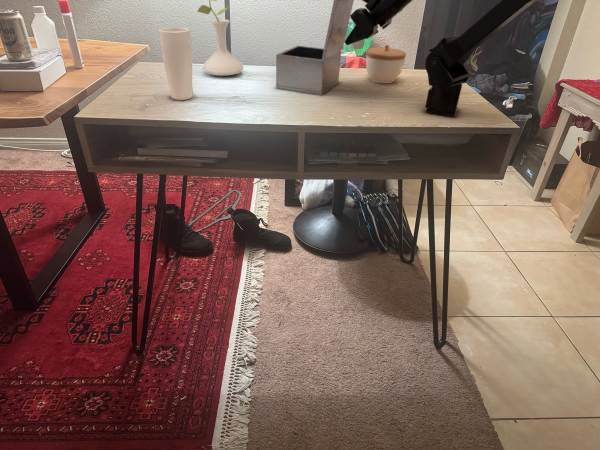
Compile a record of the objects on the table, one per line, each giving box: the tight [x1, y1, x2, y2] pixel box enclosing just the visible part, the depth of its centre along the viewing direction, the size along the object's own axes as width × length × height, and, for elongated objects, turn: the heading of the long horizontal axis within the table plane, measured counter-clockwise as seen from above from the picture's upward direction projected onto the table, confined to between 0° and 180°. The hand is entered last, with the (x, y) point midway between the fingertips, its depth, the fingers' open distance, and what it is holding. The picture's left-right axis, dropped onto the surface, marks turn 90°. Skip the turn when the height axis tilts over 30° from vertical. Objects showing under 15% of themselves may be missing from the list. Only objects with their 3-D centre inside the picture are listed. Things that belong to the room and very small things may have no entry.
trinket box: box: [365, 44, 407, 84], centre depth 119 cm, size 11×11×9 cm
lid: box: [322, 0, 355, 59], centre depth 104 cm, size 14×14×1 cm
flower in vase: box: [196, 0, 245, 77], centre depth 115 cm, size 13×11×25 cm
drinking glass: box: [158, 26, 194, 101], centre depth 98 cm, size 7×7×15 cm
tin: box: [275, 45, 342, 96], centre depth 113 cm, size 13×14×8 cm
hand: (346, 43), depth 106 cm, fingers closed
